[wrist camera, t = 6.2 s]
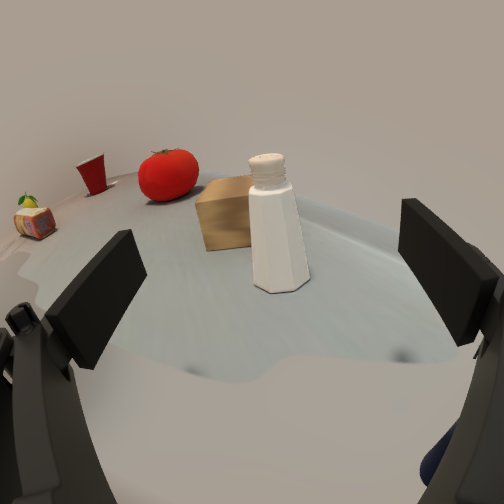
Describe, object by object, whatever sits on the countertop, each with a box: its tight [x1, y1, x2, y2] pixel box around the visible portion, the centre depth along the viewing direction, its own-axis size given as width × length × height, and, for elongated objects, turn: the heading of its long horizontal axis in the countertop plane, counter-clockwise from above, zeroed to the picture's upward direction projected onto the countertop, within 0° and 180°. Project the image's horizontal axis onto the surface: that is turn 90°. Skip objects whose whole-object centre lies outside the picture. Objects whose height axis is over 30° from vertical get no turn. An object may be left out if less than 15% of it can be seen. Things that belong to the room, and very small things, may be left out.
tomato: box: [138, 149, 199, 201], centre depth 54 cm, size 11×13×10 cm
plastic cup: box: [75, 153, 107, 195], centre depth 80 cm, size 11×11×12 cm
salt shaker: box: [248, 153, 310, 293], centre depth 24 cm, size 5×5×11 cm
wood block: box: [195, 175, 254, 251], centre depth 35 cm, size 9×9×6 cm
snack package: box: [14, 208, 56, 239], centre depth 56 cm, size 21×7×7 cm, turn 62°
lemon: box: [18, 192, 38, 208], centre depth 72 cm, size 7×6×10 cm
